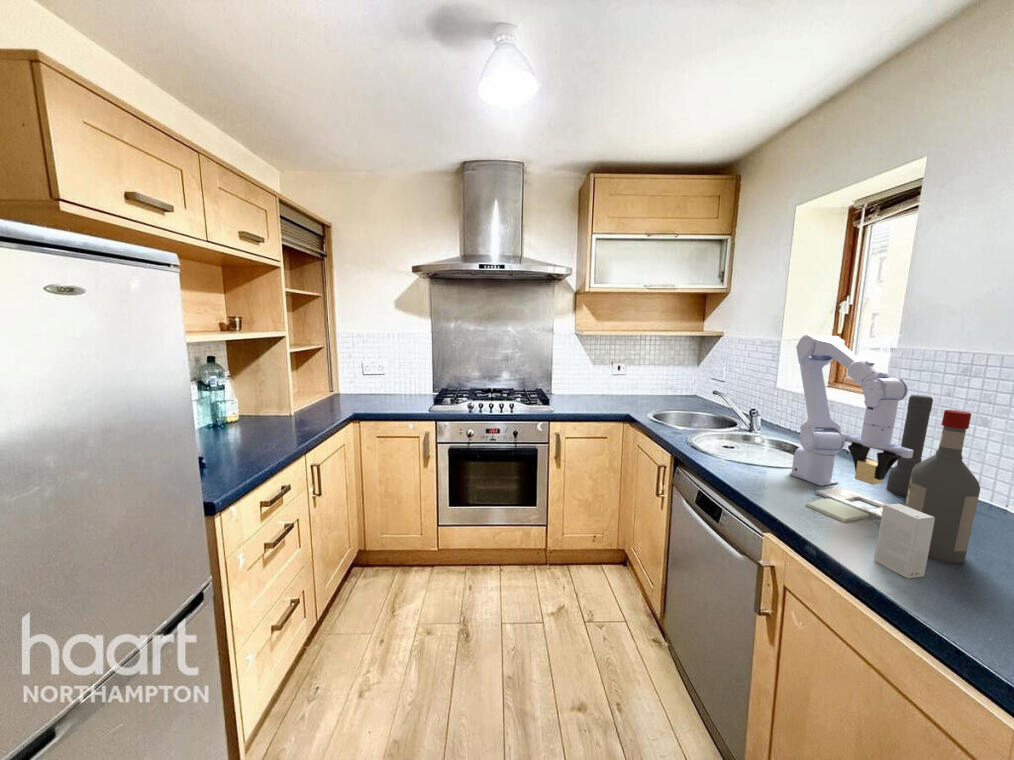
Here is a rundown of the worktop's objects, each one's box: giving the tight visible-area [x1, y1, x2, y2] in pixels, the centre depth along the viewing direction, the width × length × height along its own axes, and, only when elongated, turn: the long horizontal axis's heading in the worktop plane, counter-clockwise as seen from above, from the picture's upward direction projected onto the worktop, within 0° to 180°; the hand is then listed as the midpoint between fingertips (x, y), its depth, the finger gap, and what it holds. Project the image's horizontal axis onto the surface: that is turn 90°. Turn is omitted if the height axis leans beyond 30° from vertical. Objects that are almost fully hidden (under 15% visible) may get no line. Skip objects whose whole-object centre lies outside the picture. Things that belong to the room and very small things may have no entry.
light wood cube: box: [854, 458, 884, 486], centre depth 104 cm, size 4×4×5 cm
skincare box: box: [873, 503, 935, 579], centre depth 77 cm, size 6×4×12 cm
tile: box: [805, 498, 870, 523], centre depth 102 cm, size 9×9×1 cm
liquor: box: [904, 409, 981, 564], centre depth 83 cm, size 9×9×30 cm
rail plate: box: [815, 486, 888, 520], centre depth 106 cm, size 18×10×1 cm, turn 20°
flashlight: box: [886, 394, 934, 497], centre depth 113 cm, size 7×28×7 cm
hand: (869, 475), depth 104 cm, fingers closed on light wood cube, 4 cm apart
